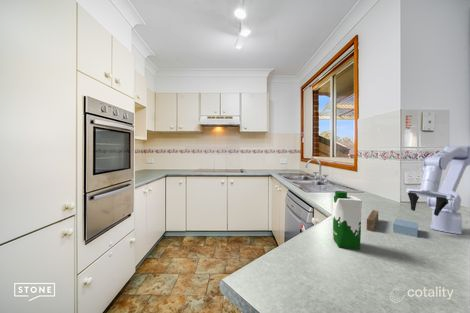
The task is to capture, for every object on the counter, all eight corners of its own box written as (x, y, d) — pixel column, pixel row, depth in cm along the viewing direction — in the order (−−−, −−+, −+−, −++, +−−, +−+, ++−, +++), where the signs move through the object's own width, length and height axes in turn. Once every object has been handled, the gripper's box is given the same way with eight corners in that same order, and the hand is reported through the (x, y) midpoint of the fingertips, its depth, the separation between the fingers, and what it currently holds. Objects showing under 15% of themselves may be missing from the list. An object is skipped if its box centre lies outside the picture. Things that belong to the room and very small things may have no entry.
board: (378, 220, 106) (378, 211, 106) (373, 231, 91) (373, 220, 91) (372, 219, 107) (372, 210, 107) (366, 230, 92) (366, 219, 92)
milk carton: (330, 238, 82) (331, 189, 82) (354, 240, 80) (355, 190, 80) (336, 248, 74) (337, 193, 73) (364, 251, 72) (365, 194, 72)
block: (417, 231, 92) (417, 222, 92) (417, 238, 85) (417, 228, 85) (395, 227, 97) (395, 218, 97) (393, 232, 90) (393, 224, 90)
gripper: (406, 177, 93) (399, 205, 91) (450, 182, 80) (443, 215, 78) (412, 182, 96) (406, 209, 94) (456, 187, 83) (450, 219, 81)
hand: (423, 212), depth 86 cm, fingers open, 7 cm apart
